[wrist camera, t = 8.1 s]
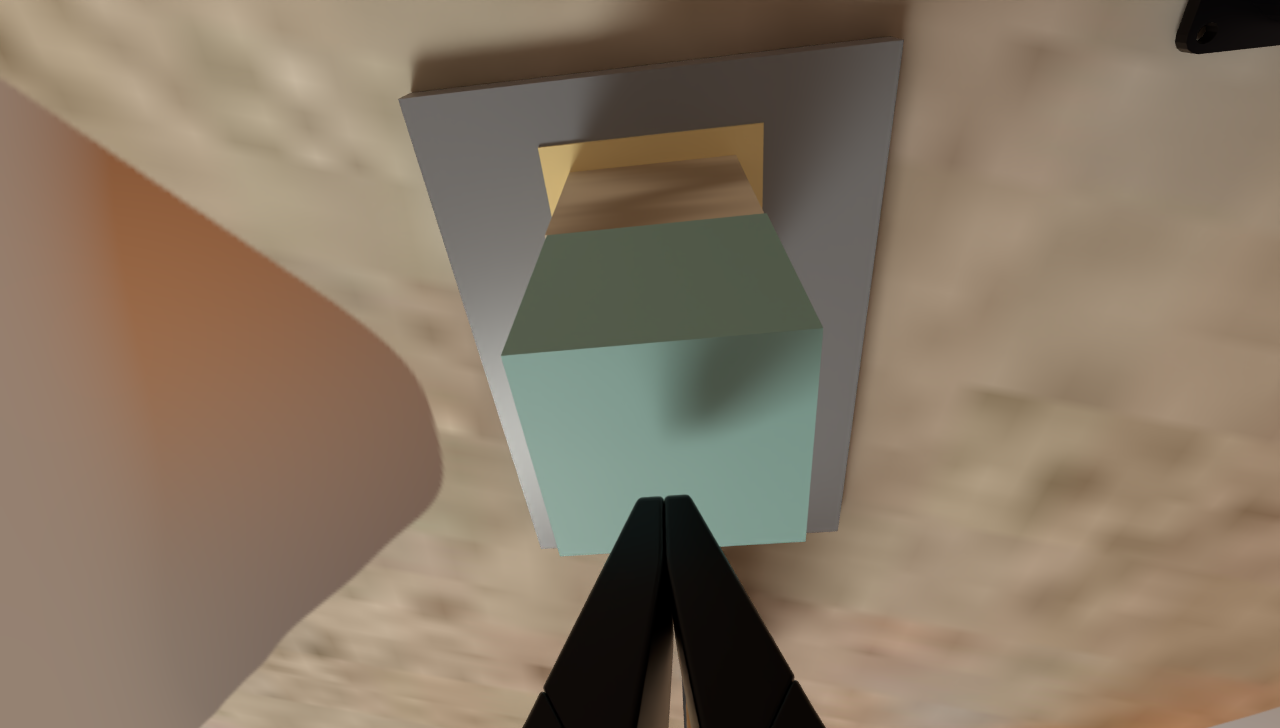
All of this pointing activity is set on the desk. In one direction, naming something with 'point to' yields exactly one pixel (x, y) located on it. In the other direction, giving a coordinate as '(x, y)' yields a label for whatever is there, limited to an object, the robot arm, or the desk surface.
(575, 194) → the maple block
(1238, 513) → the desk surface
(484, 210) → the grey flat plate
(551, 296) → the teal block
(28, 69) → the desk surface
